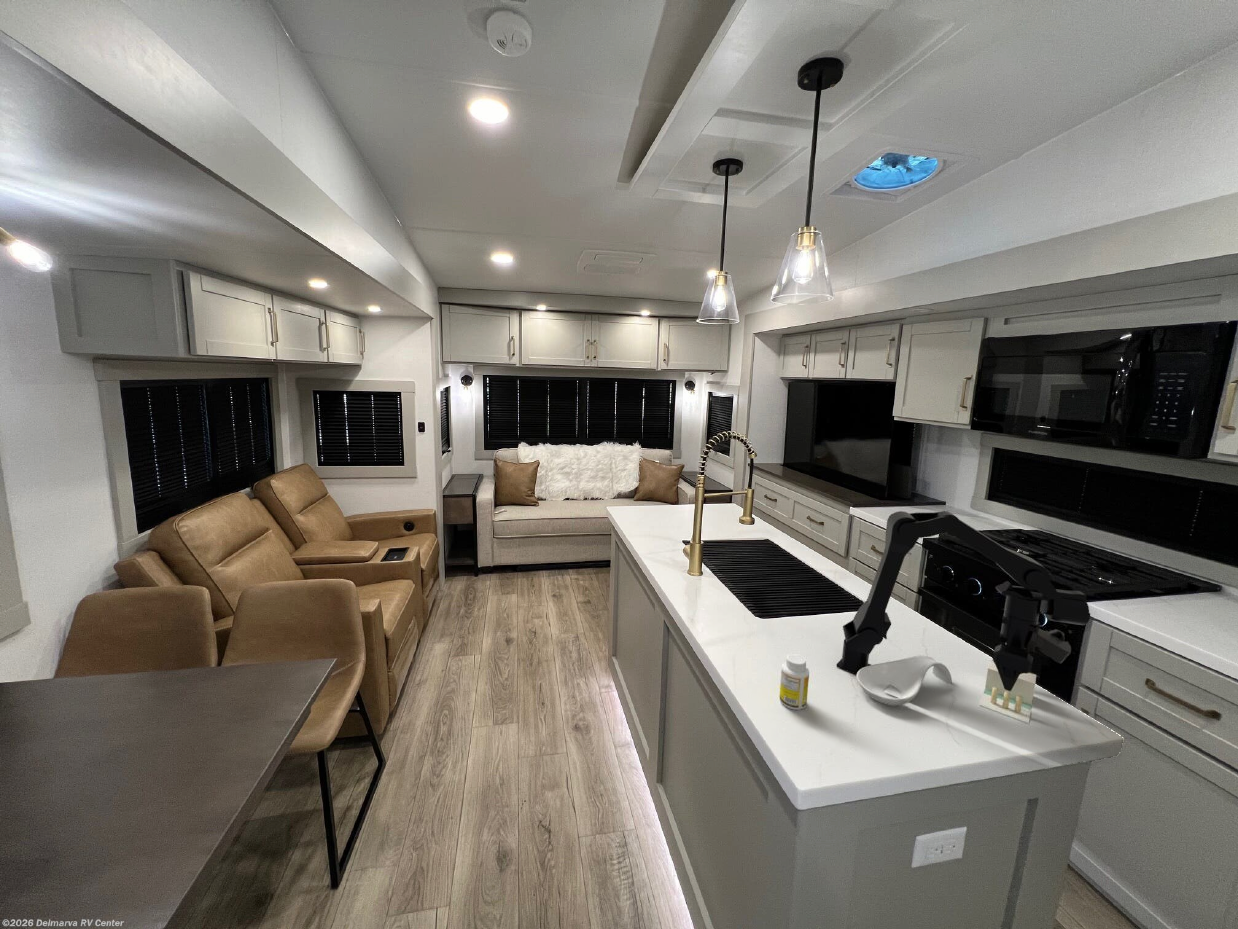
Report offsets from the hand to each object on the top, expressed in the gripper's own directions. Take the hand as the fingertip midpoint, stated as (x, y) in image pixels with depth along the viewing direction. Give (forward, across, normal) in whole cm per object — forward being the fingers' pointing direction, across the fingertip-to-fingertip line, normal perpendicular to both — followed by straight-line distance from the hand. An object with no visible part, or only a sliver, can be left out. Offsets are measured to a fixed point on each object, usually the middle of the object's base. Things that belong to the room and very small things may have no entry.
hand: (1009, 681), depth 106 cm
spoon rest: (+4, -14, +17) cm, 23 cm away
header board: (+4, -4, 0) cm, 5 cm away
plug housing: (+3, 0, 0) cm, 3 cm away
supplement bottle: (+4, -36, +33) cm, 50 cm away
